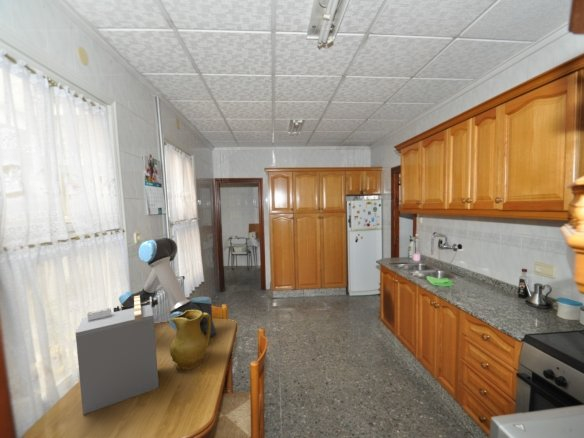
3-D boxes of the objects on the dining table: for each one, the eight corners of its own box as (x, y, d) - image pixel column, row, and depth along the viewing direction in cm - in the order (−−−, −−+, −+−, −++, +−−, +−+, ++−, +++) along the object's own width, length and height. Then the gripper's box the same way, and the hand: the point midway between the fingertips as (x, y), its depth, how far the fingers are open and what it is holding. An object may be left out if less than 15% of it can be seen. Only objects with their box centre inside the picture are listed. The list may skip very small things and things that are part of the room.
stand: (89, 390, 114) (82, 318, 113) (156, 369, 128) (151, 304, 126) (83, 414, 101) (75, 332, 99) (158, 387, 114) (153, 315, 113)
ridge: (88, 319, 112) (88, 312, 112) (111, 314, 116) (110, 307, 116) (87, 321, 110) (87, 314, 110) (111, 316, 114) (110, 309, 114)
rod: (134, 301, 132) (134, 296, 132) (140, 300, 134) (139, 295, 133) (134, 321, 107) (134, 315, 106) (141, 320, 108) (141, 314, 108)
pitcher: (179, 353, 140) (177, 307, 139) (214, 352, 141) (213, 307, 139) (163, 374, 123) (161, 322, 121) (203, 374, 124) (202, 322, 122)
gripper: (162, 312, 155) (163, 303, 139) (111, 324, 143) (106, 316, 126) (160, 300, 158) (162, 290, 142) (110, 310, 146) (105, 300, 129)
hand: (135, 302), depth 134 cm, fingers open, 13 cm apart
